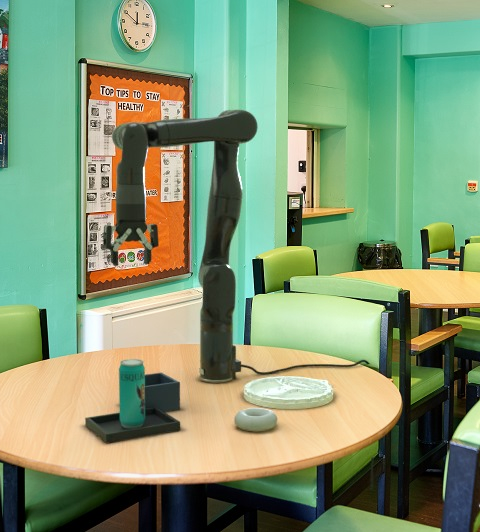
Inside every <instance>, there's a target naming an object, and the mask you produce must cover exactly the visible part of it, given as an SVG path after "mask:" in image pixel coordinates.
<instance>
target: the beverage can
mask: <svg viewBox="0 0 480 532" xmlns="http://www.w3.org/2000/svg"><path fill="white" fill-rule="evenodd" d="M119 363H120V365H119V367H118V395H119V396H118V400H119V403H118V405H119V407H118V408H119V412H120V422H121V424H122V426H123V427H124V428H127V429H134V428H140V427H142V425H143V423H144V420H145V375H146V369H145V365H144V361H143V360H142V359H138V358H129V359H123V360H120V361H119Z"/></svg>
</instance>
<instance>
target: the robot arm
mask: <svg viewBox="0 0 480 532" xmlns="http://www.w3.org/2000/svg"><path fill="white" fill-rule="evenodd" d="M258 129H259V127H258V121H257V119H256V117H255V116H254V115H253V113H251V112H250V111H248V110H245V109H227V110H224V111H222V112H221V113H219V114H218V116H215V117H203V118H171V119H170V118H169V119H160V120H153V121H150V122H149V121H148V122H126V123H120V124H119V125H117V126H116V127H115V128H114V129H113V131H112V134H111V141H112V143H113V145H114V146H115V147H116V148H117V149H119V150H120V151H121V159H120V161H119V162H117V165H116V187H115V198H114V199H115V220H116V221H115V224H114V225H110V224H105V225H104V226H103V240H102V247H103V249H106V250H109V251H110V263H111V264H112V266H114V267H119V251H118V250H120V249H119V248H121V246H123V244H124V242H126V243H130V242H139V243H140V244H141V245H142V246H143V248H144V249H143V264H144V265H150V263H152V250H153V249H154V248H159V228H158V227H159V226H158V224H157V223H156V224H155V223H150V224H147V223H146V219H147V206H146V201H147V200H146V199H147V198H146V197H147V195H146V187H145V185H146V184H145V164H146V161H147V156H148V150H149V149H150V148H157V149H159V148H161V149H163V148H173V147H180V146H187V145H193V144H202V143H209V142H210V143H212V142H213V161H212V170H211V177H210V178H211V179H210V187H209V193H208V202H207V209H206V210H207V211H206V224H205V225H206V226H205V239H204V240H205V241H204V247H203V251H202V256H201V261H200V264H199V269H198V275H197V279H198V283H199V286H200V287H201V288H202V305H201V307H200V311H199V369H198V370H199V371H198V373H199V380H200V381H201V382H205V383H212V384H221V383H228V382H231V381H233V380H236V379H237V373H241V372H242V368H245V369H249V370H251V371H253V372H254V373H255V374H257V375H260V376H265V375H274V374H275V373H280V372H286V371H290V370H293V369H298V368H310V367H315V368H316V367H326V368H327V367H328V368H329V367H330V368H332V367H333V368H353V367H356V366H358V365H360V364H361V363H365V364H367V365H370V362H369V361H368V360H366V359H360V360H358V361H357V362H355V363H352V364H351V363H350V364H335V363H334V364H332V363H331V364H330V363H326V364H325V363H310V364H309V363H308V364H298V365H292V366H287V367H284V368H279V369H275V370H270V371H263V372H262V371H258V370H257V369H255V368H254V367H253V366H251V365H247V364H242V361H241V360H240V359H237V346H236V345H234V312H235V309H236V293H237V292H236V291H237V290H236V289H237V286H236V285H237V283H236V281H237V280H236V274H235V272H234V270H233V268H232V267H230V249H231V244H232V241H233V237H234V235H235V233H236V230H237V227H238V224H239V221H240V218H241V212H242V211H241V210H242V204H243V194H244V193H243V185H242V181H241V176H240V172H239V168H238V156H239V148H240V145H242V144H243V145H244V144H247V143H249V142H251V141H252V140H253V139H254V138H255V136H256V135H257V132H258ZM114 232H115V233H116V234H117V235H116V236H115V238H114V239H113V242H112V236H113V234H114ZM146 232H148V233H149V236H150V237H149V238H150V239H148V238H147V236H146V235H145V233H146ZM149 241H150V242H149ZM374 459H375V457H371V459H370V460H371V461H370V462H371V463H370V491H374Z"/></svg>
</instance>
